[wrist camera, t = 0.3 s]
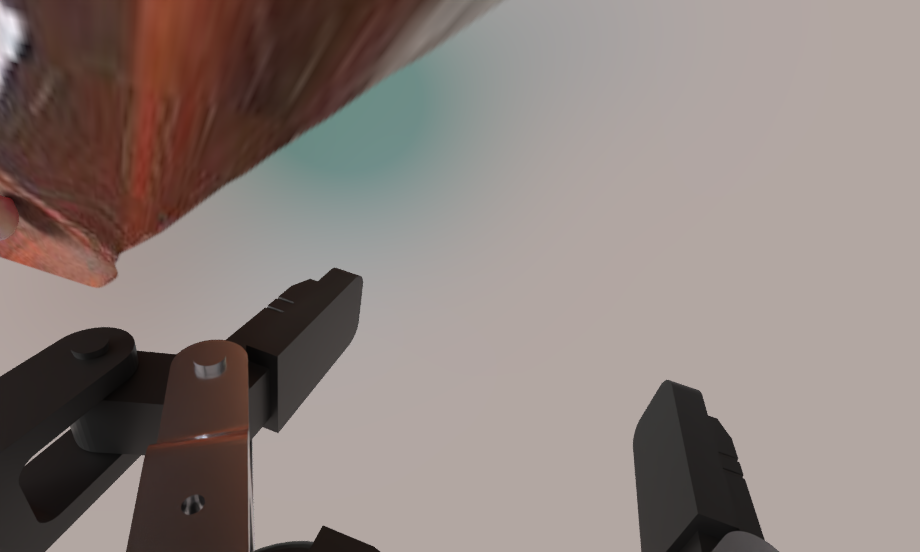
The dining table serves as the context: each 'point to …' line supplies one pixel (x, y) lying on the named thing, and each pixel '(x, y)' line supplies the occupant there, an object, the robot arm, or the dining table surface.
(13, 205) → the decorative fruit
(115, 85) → the dining table surface
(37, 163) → the dining table surface
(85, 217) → the dining table surface
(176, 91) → the dining table surface
